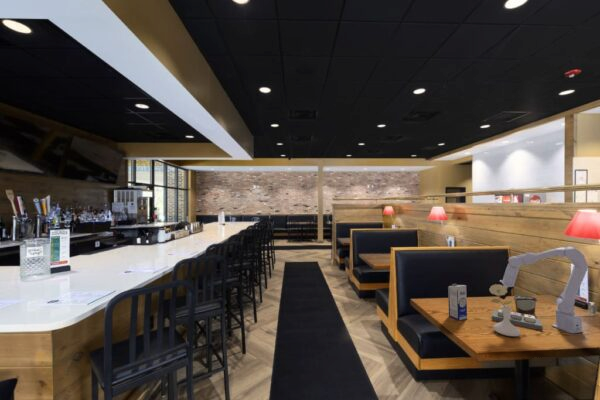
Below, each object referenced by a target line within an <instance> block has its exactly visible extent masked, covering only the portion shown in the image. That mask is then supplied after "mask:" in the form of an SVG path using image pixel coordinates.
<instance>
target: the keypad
mask: <svg viewBox="0 0 600 400" xmlns="http://www.w3.org/2000/svg"><path fill="white" fill-rule="evenodd" d="M503 319H504V316H498V310H494V309H493V310H492V314H491V320H492V321H495V322H499V323H500V322H502V321H503ZM509 321H510V323H511V324H513V325H514V326H520V327H525V328H528V329H529V328H530V329H535V330H540V331H543V322H542V318H537V317H535V323H534V322H529V321H525V318H524V315H523V314H521V320H519V319H514V318H511V312H509Z"/></svg>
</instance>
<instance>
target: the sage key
mask: <svg viewBox="0 0 600 400" xmlns="http://www.w3.org/2000/svg"><path fill="white" fill-rule="evenodd" d="M497 311H498V316H504V314H503V310H502V309H498V310H497Z"/></svg>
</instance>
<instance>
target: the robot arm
mask: <svg viewBox="0 0 600 400" xmlns="http://www.w3.org/2000/svg"><path fill="white" fill-rule="evenodd" d="M553 257H559V258H562V259H563V258H565V257H566V258H567V259H568V260H569V261H570V262H571V264H572V265H573V268H572V270H571V272H570V275H569V278H568V280H567V282H566V284H565V286H564V289H563V291H562V293H561V294H560V295H559V296H558V298H556V299H555V304H556V306H557V308H555V323H556V324H551V326H552V327H554V328H557V329H559V330H561V331H564V332H567V333H569V334H577V333H578V334H579V333H583V332H584V331H583V322H582V318H581V317H580V316H579V315H576V314H575V303H576V297H577V294H578V292H579V290H580V287H581V286H582V283H583V281H584V278H585V276H586V274H587V271H588V269H589V265H588V263H587V260H586V257H585V255H584V253H582V251H580V250H579V249H578V248H576V247H574V246H569V245H567V246H564V247H563V246H562V247H557V248H553V249H548V250H545V251H541V252H537V253H533V252H529V251H527V252H525V253H523V254H520V255H519V254H517V255H516V256H515V255H512V256H510V257H509V258H508V259H507V261H508V264H507V266H506V268H505V271H504V274H503V278H502V279H500V280H499V282H500V283H502V284H501V285H502V286H504V287H505V288H506V289H507V293H506V294H505V295H500V300H501V299H502V300H505V299H507V296H509V293H511V292H512V290H513V289H514V288H515V283H516V280H517V277H518V274H519V270H520V267H521V266H527V265H531V264H535V263H537V262H538V260H543V259H548V258H549V259H550V258H553Z"/></svg>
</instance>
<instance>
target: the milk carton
mask: <svg viewBox="0 0 600 400" xmlns="http://www.w3.org/2000/svg"><path fill="white" fill-rule="evenodd" d="M447 290H448V293H447V295H448V317H449V318H451V319H454V320H456V321H458V322H459V321H463V320H468V306H467V305H468V303H467V302H468V301H467V284H457V283H451V285H449V286H447Z"/></svg>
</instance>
